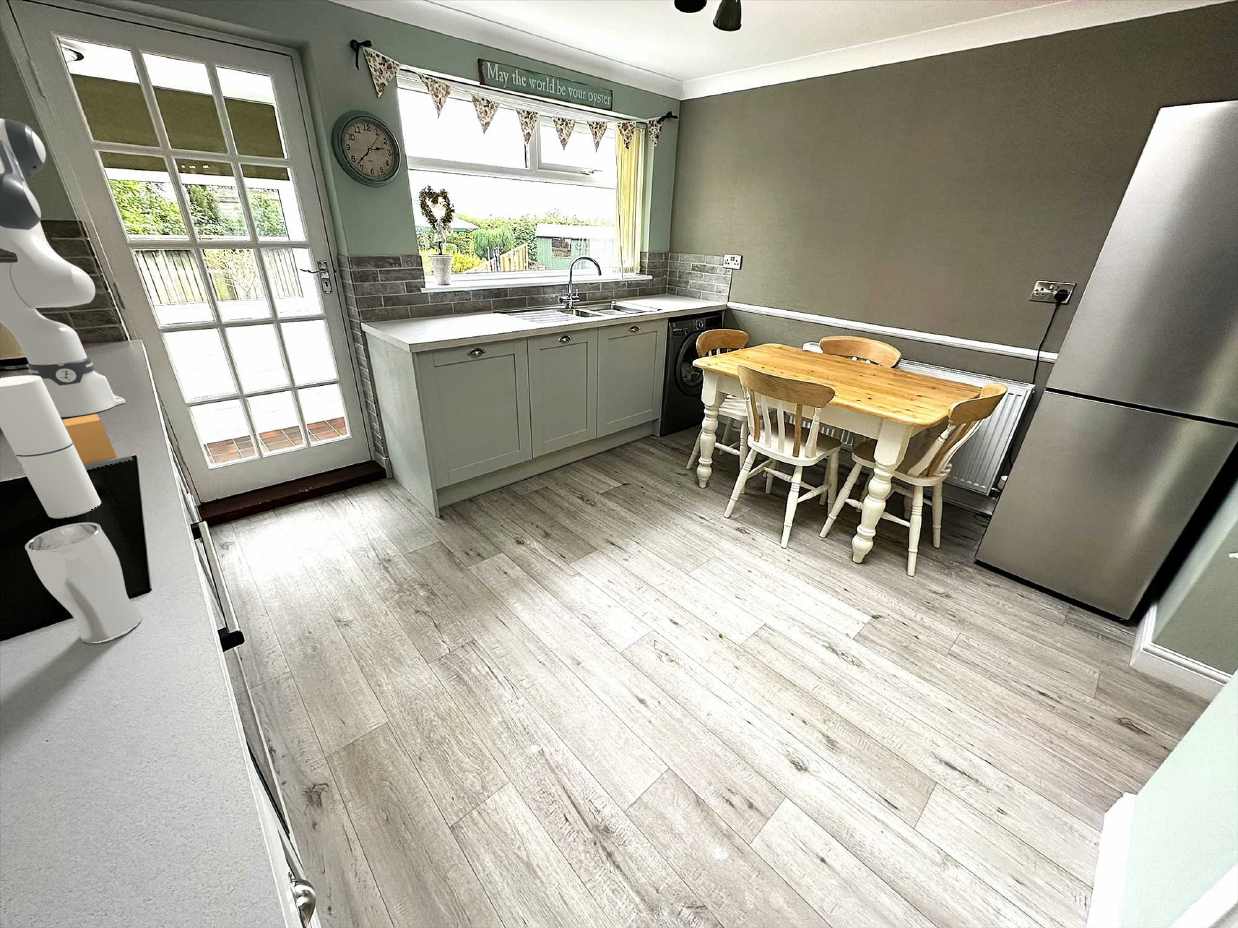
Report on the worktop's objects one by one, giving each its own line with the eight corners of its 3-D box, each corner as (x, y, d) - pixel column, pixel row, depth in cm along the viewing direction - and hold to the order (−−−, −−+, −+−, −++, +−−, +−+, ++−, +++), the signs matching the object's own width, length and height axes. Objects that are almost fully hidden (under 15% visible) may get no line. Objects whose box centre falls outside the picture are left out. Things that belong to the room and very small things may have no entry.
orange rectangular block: (80, 457, 112) (62, 419, 108) (113, 450, 116) (96, 413, 112) (83, 464, 109) (65, 426, 105) (116, 457, 112) (100, 419, 109)
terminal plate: (65, 457, 114) (63, 453, 113) (124, 445, 121) (122, 441, 120) (71, 473, 107) (69, 469, 106) (133, 459, 114) (131, 455, 113)
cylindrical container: (67, 520, 91) (-2, 388, 80) (37, 515, 92) (-35, 385, 81) (111, 501, 97) (52, 377, 86) (82, 497, 98) (20, 374, 87)
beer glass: (76, 626, 68) (23, 534, 61) (144, 603, 72) (101, 515, 66) (77, 655, 63) (19, 560, 57) (149, 628, 68) (103, 537, 61)
